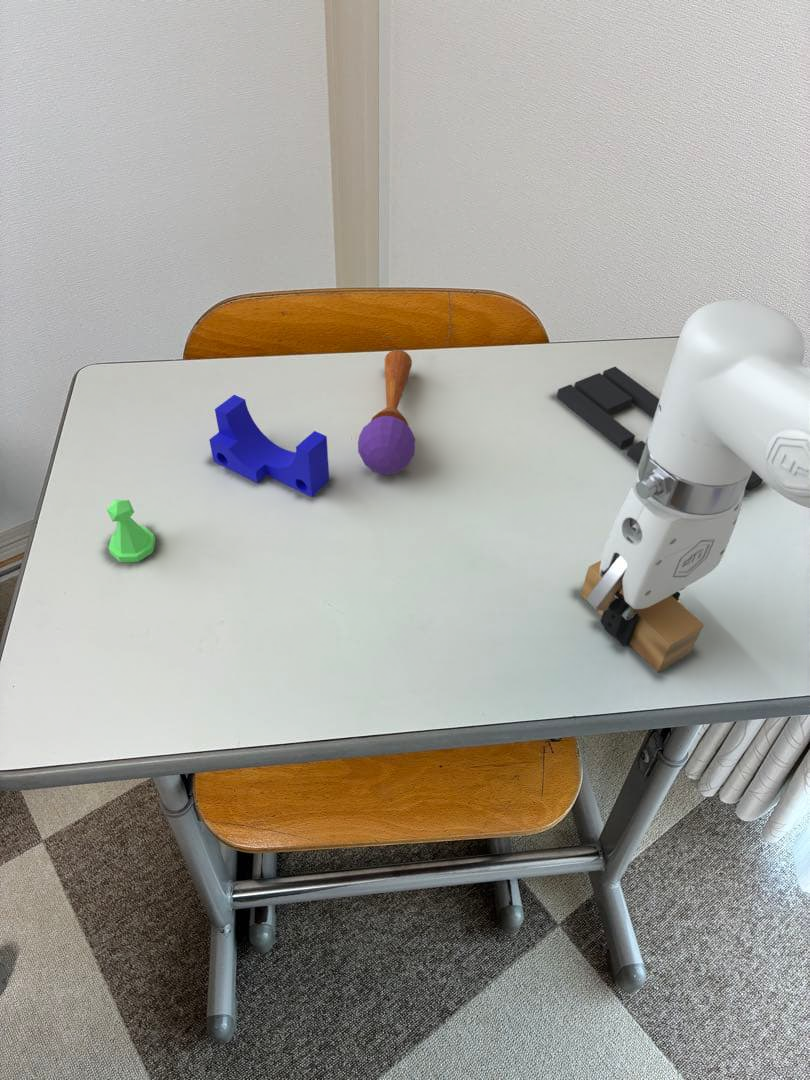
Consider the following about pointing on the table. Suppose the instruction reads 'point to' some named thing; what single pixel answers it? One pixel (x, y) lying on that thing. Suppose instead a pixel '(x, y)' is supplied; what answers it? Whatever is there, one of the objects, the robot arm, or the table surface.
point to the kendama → (389, 423)
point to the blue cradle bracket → (267, 451)
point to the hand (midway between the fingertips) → (634, 620)
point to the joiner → (656, 627)
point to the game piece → (128, 534)
